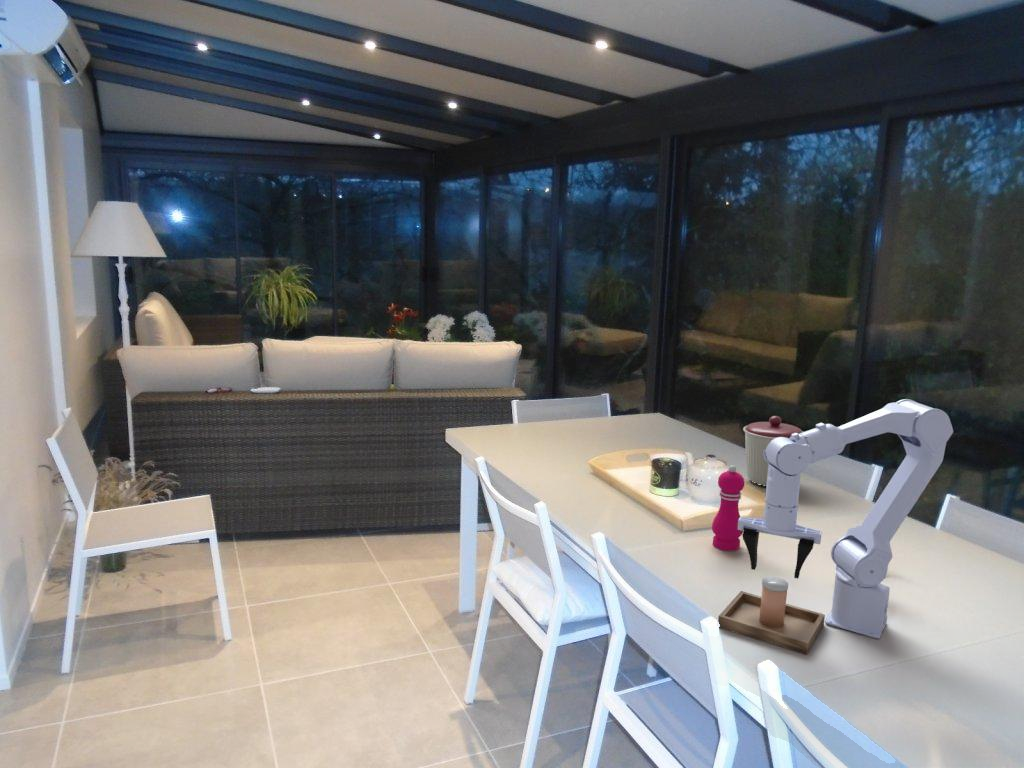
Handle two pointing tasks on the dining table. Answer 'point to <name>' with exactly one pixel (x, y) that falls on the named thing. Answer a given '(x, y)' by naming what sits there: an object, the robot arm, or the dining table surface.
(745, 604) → the walnut tray
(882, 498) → the robot arm
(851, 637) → the dining table surface
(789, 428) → the canister
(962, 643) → the dining table surface
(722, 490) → the pepper mill
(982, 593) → the dining table surface
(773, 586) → the terracotta shaker
